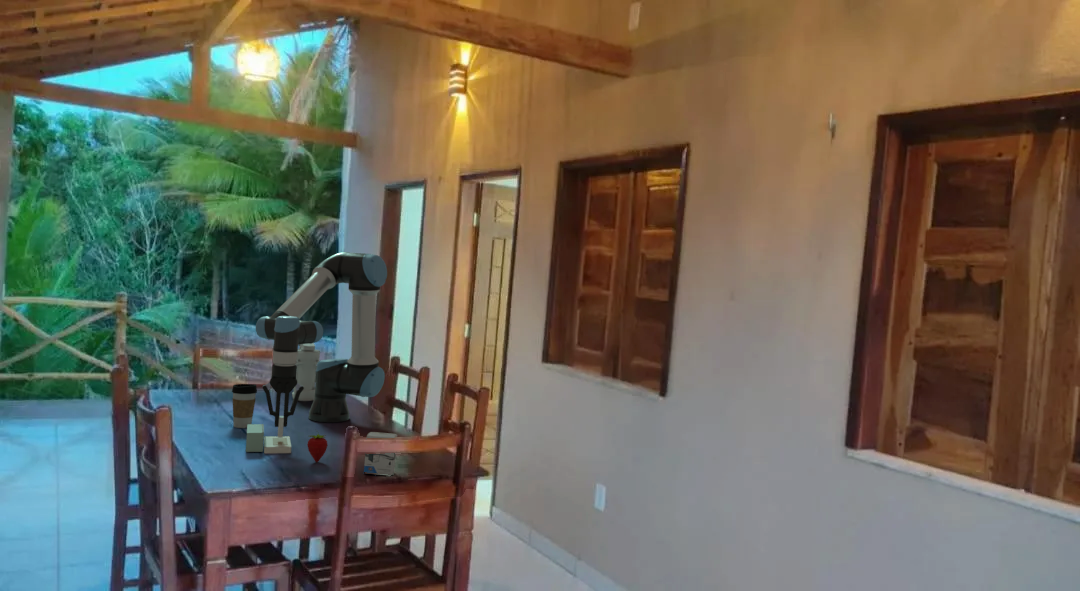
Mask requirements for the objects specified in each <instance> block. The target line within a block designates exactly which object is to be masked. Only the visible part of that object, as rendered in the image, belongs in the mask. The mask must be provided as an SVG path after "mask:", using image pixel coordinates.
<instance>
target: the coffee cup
mask: <svg viewBox="0 0 1080 591" xmlns="http://www.w3.org/2000/svg"><path fill="white" fill-rule="evenodd" d="M231 393H232V416H233V417H232V419H233V425H232V426H233V428H238V429H247V424H253V423H252V422H253V418H254V411H255V406H256V405H255V404H256V394H257V393H258V389H257V384H255V383H253V384H249V383H238V384H237V383H236V384H233V386H232V389H231Z"/></svg>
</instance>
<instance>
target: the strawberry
mask: <svg viewBox="0 0 1080 591" xmlns="http://www.w3.org/2000/svg"><path fill="white" fill-rule="evenodd" d="M315 431H316V432H317V434H316V435H309V439H308V440H307V449H308V452H309V454H310V456H311V457H312V459H313V461H314V462H316V463H319V461H320V460H321V459H322V457H323V456H324V455H325V453H326V452H327V448H328V440H327V439H326V436H327V435H325V434H324V435H323V434H322V435H320V434H319V432H318V430H317V429H315Z"/></svg>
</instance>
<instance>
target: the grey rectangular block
mask: <svg viewBox="0 0 1080 591" xmlns="http://www.w3.org/2000/svg"><path fill="white" fill-rule="evenodd" d="M264 435H265V424H264V423H262V424H261V423H260V424H259V423H258V424H257V423H256V424H253V423H252V424H247V428H246V441H245V452H246V453H254V452H255V453H259V452H261V453H264Z"/></svg>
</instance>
